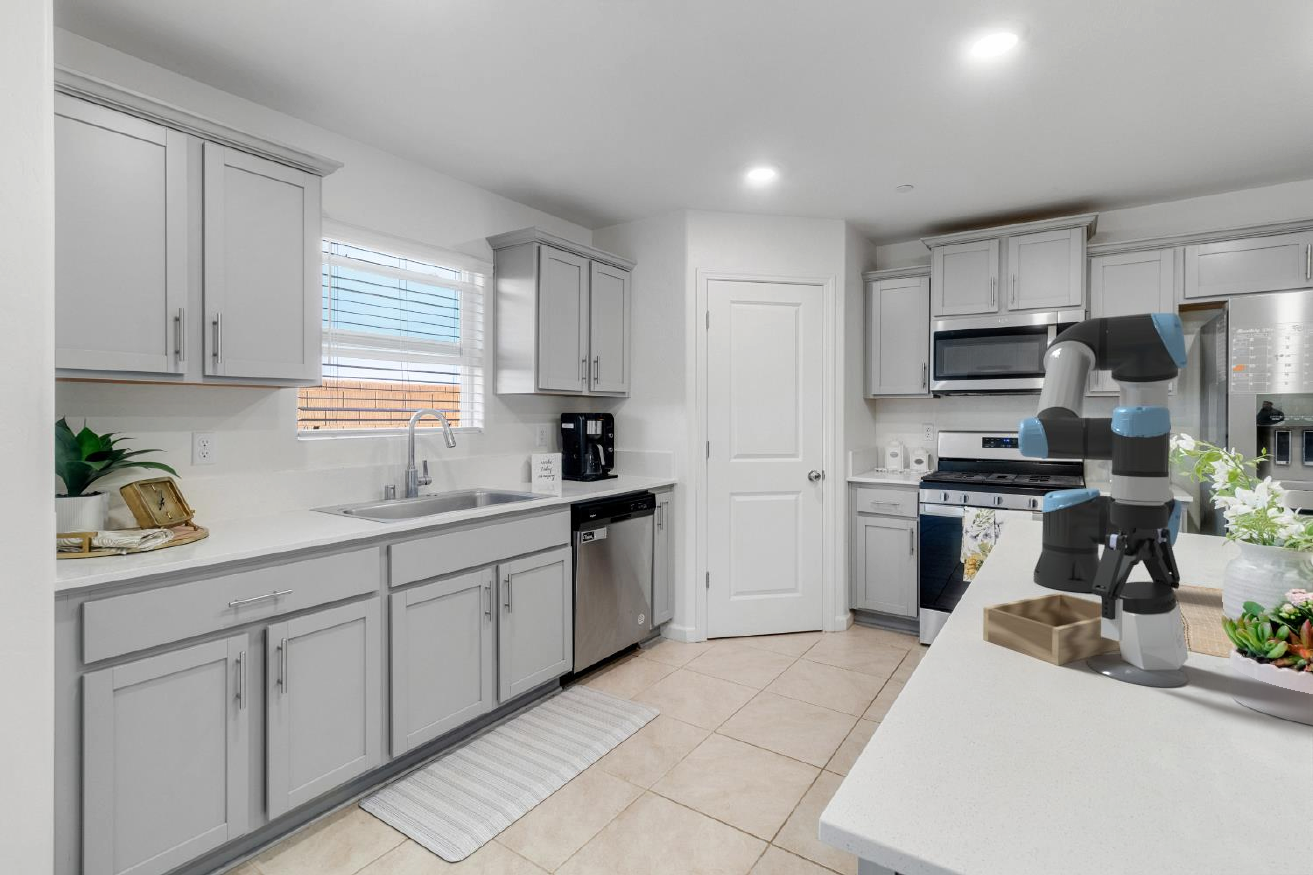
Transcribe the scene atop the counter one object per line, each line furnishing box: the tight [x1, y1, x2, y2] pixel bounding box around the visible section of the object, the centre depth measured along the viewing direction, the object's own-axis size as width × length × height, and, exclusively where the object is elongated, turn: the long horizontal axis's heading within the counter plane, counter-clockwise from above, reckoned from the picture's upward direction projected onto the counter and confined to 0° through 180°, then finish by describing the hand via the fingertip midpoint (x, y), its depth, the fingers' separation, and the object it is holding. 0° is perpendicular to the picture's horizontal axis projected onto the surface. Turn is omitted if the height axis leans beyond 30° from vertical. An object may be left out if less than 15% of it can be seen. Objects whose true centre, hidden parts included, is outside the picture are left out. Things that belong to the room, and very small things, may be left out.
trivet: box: [1087, 653, 1188, 688], centre depth 106 cm, size 13×13×1 cm
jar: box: [1118, 581, 1189, 671], centre depth 107 cm, size 9×8×12 cm
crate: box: [982, 592, 1120, 666], centre depth 119 cm, size 22×14×6 cm, turn 116°
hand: (1136, 632), depth 106 cm, fingers open, 13 cm apart
